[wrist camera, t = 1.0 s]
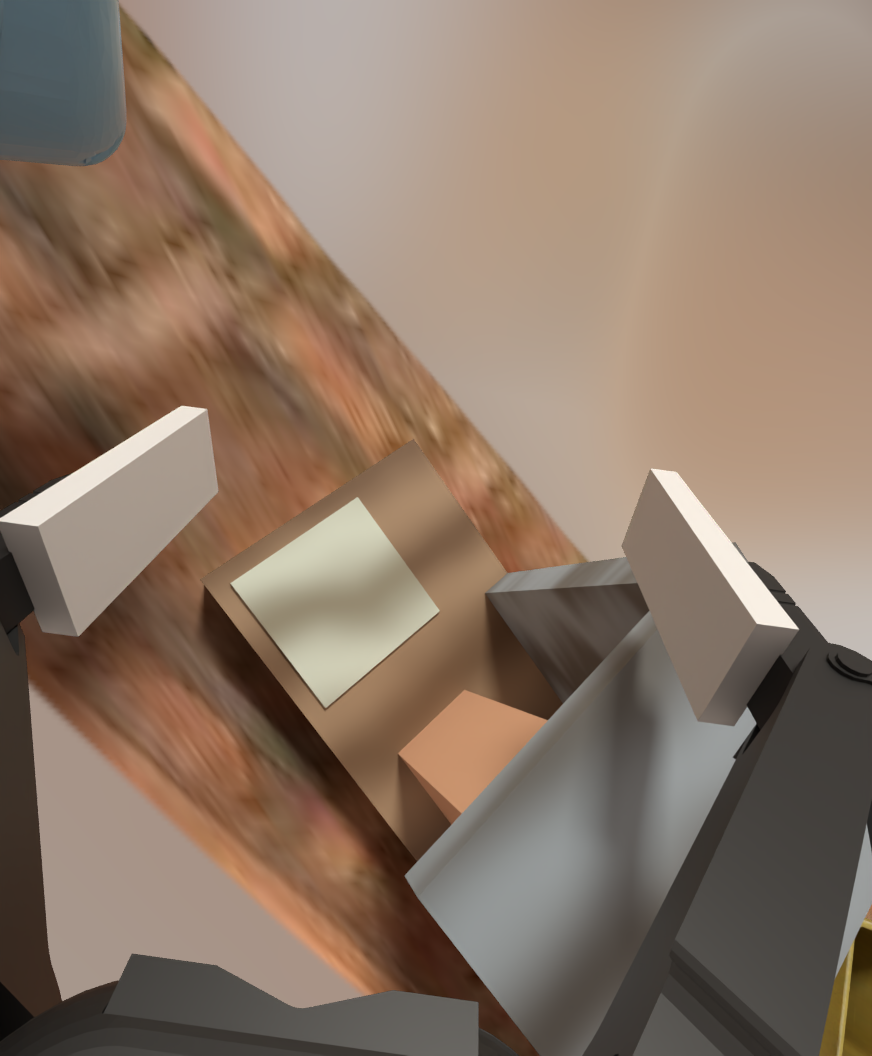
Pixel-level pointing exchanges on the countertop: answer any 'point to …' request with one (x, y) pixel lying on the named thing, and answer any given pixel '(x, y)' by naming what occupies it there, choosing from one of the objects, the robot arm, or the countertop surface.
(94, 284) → the countertop surface
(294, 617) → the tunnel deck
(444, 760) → the orange block
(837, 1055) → the flower pot
